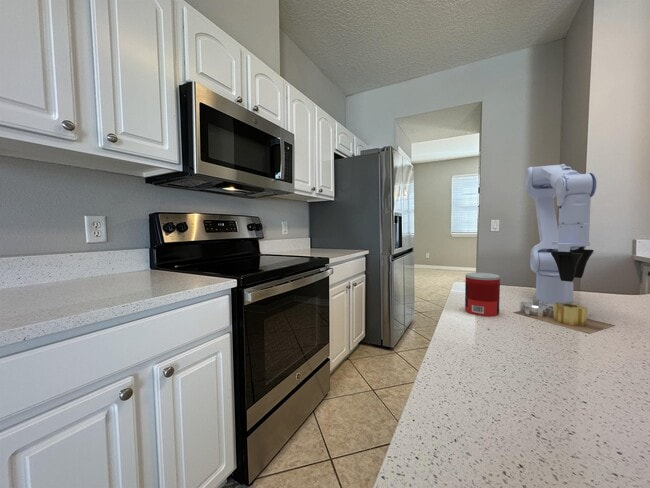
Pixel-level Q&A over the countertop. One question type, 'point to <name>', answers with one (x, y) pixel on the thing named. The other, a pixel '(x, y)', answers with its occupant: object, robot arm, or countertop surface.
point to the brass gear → (570, 314)
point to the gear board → (588, 328)
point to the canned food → (482, 294)
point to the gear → (536, 309)
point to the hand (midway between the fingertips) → (571, 279)
